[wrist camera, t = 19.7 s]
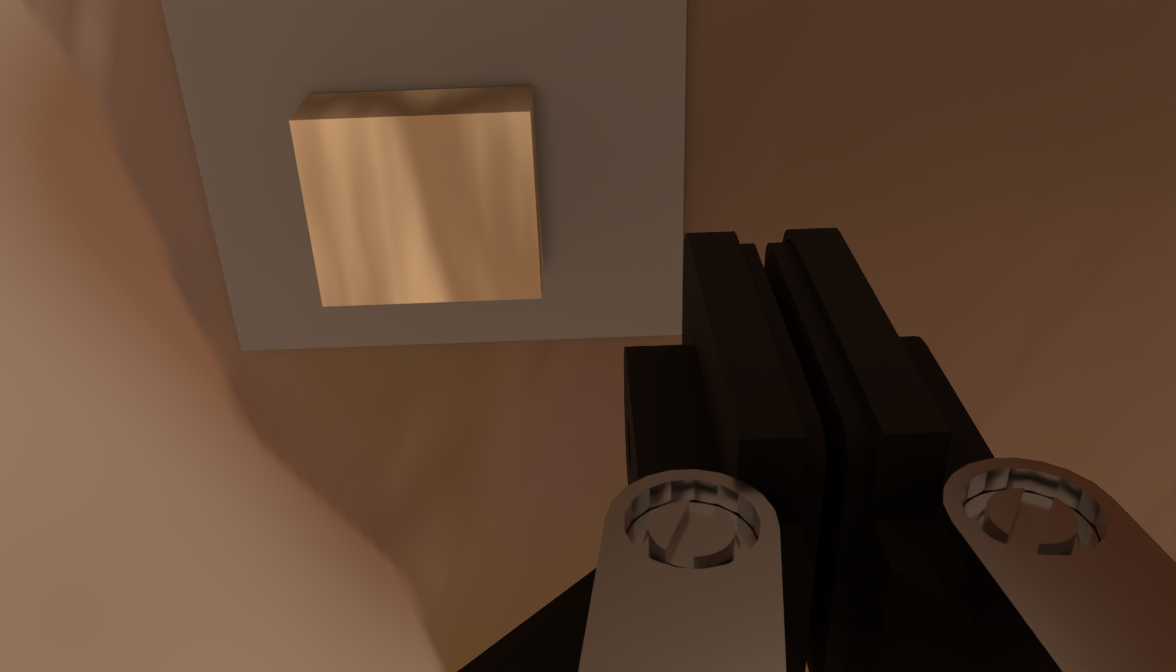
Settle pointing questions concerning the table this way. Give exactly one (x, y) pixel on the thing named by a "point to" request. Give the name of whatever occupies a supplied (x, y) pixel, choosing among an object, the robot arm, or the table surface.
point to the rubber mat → (447, 61)
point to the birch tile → (421, 194)
